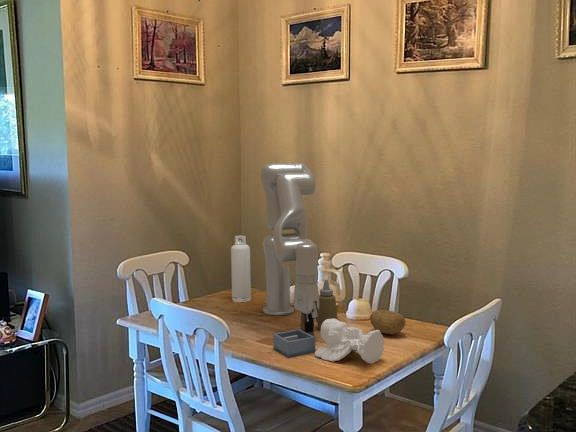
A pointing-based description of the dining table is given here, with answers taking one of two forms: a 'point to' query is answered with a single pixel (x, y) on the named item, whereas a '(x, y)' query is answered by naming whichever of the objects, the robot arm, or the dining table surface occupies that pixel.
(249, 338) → the dining table surface
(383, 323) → the potato
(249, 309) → the dining table surface
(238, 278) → the bottle
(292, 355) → the grey open storage bin
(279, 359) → the dining table surface
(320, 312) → the squeeze bottle
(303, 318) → the brown rectangular block
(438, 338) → the dining table surface
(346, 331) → the cherub figurine
